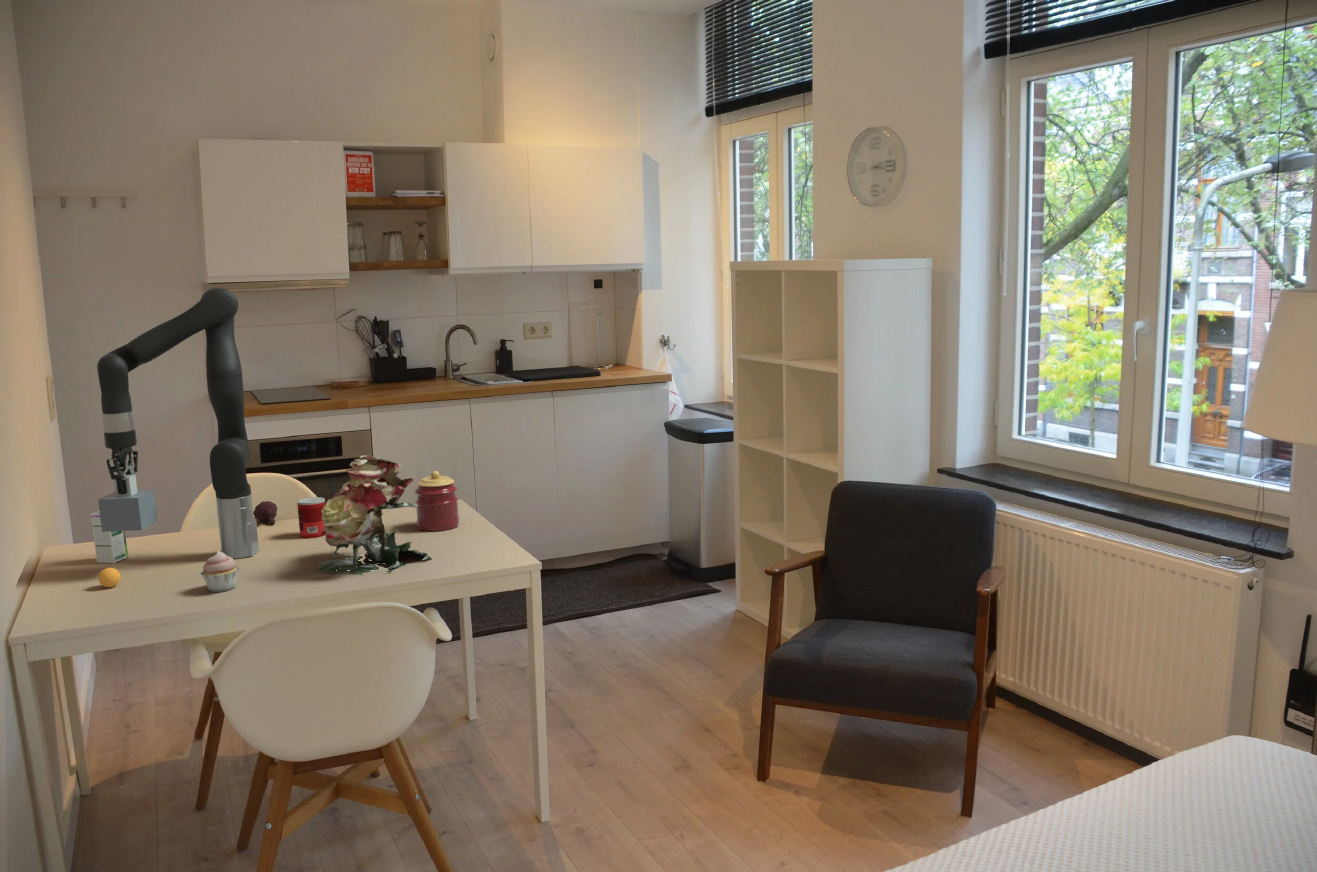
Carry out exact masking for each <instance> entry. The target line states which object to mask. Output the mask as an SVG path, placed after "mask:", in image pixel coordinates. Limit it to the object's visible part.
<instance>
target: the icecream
mask: <svg viewBox="0 0 1317 872" xmlns="http://www.w3.org/2000/svg"><path fill="white" fill-rule="evenodd" d="M277 512H278V507H277V504H276V503H274V502H272V501H269V500H267V501H261V502H260V503H258V504H257V505H256V506H255V508H254V510H253V517H254V519H256V520H258V521H259V522H262V523H269V524H270V525H271V526H274V525H275V524H276V520H275V518H276V517H277Z"/></svg>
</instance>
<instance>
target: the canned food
mask: <svg viewBox="0 0 1317 872" xmlns="http://www.w3.org/2000/svg"><path fill="white" fill-rule="evenodd" d="M296 502H297V503H296V504H297V513H298V524H299V525H298V527H299V534H300V537H301V538H303V539H317V538H321V537H324V536H326V534H323V535H322V531H323V528H324V525H323V524H324V522H323V520H322V514H323V513H322V512H321V510H322V509H323V507H324V506H325V505H326V500H325V498H324V497H319V496H317V497H313V496H312V497H305V498H302V499H299V500H297V501H296Z"/></svg>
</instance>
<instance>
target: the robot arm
mask: <svg viewBox="0 0 1317 872" xmlns="http://www.w3.org/2000/svg"><path fill="white" fill-rule="evenodd" d="M238 310H239V301H238V298H237V296H236V295H235V294H234V293H233V292H231V290H228V289H225V288H224V287H223V288H222V287H212V288H210V289H209V288H208V289H207V291H205V292H204V293H203V294H202V296H201V297H200V300H199V301H197V302H196V303H195V304H194V305H193V306H191V307H190V308H189V309H187V310H186V311H184V312H183V313H181V314H178V315H177V316H175V317H173V318H172V319H169V320H167V321H164V322H162V323H160V324H158V325H157V326H154V327H153V328H151V329H149V330H147V331H145V332H143V333H141V334H140V335H138V336H137V337H135V338H133V339H132V340H130V341H129V342H127V343H125V344H124V345H122V346H119V347H118V348H115V349H114V350H112V351H110V352H108V353H106V354H103V356H101V357H100V358H99V359H98V361H97V364H96V369H97V376H98V382H99V387H100V393H101V394H100V403H101V410H102V411H101V412H102V430H103V438H104V447H105V448H106V449H110V450H111V458H108V459H107V458H106V462H105V463H106V465H107V469H108V473H109V477H110V479H111V481H112V480H113V481H114V480H115V481H116V482H117V491H118V494H126V493H127V485H126V475H136V473H138V465H139V464H138V463H139V451H138V450H133V448H132V447H136V446H137V444H138V441H137V433H136V423H135V416H134V413H133V406H132V405H133V404H132V399H131V398H132V397H131V393H130V390H129V389H130V388H129V387H130V386H129V384H130V383H129V373H130V372H132V371H133V370H135V369H137V368H139V366H141V365H144V364H147V363H149V362H152V361H153V360H155V359H157V358H159V357H160V356H161V355H164V354H165V353H167V352H169V351H170V350H172V349H173V348H175V347H176V346H178V345H179V344H180V343H182V342H184V341H186V340H187V339H189V338H190V337H192V336H194V335H196V334H197V333H200V332H202V331H205V332H204V333H205V340H206V345H205V347H206V349H205V367H206V368H205V369H206V373H205V374H206V386H207V394H208V398H209V401H210V403H211V407H212V410H213V412H214V415H215V417H216V418H215V419H216V422H217V444H215V445H214V446H213V447H212V448H211V450H210V452H209V453H210V454H209V467H210V468H209V469H210V475H211V482H212V489H213V490H214V492H215V502H216V511H217V521H218V522H217V523H218V531H219V540H220V552H222V553H224V554H225V555H226V556H229V557H231V558H233V559H234V560H235V559H242V558H243V559H244V558H247V557H248V558H249V557H254V555H256V554H257V553H258V552H260V547H259V536H258V525H257V518H254V514H253V512H254V510H253V500H252V499H253V498H252V488H251V484H250V483H249V482H248V479H247V471H246V465H247V464H248V462H249V461H250V456H251V449H250V448H251V447H250V445H249V444H250V443H249V439H248V435H247V428H246V423H245V399H244V398H245V397H244V380H243V379H244V378H243V377H244V376H243V371H242V364H241V359H240V355H239V351H238V349H237V348H238V347H237V344H236V339H235V316H236V315H237V313H238Z"/></svg>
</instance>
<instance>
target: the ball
mask: <svg viewBox="0 0 1317 872" xmlns="http://www.w3.org/2000/svg"><path fill="white" fill-rule="evenodd" d="M98 581H99V584H100V585H101V586H103V587H105V588H113V587H115V586H116V585H118V584H119V583H120V581H121V573H120V572H119V570H118V569H117V568H114V567H107V568H104V569H103V570H101V571H100V572H99V575H98Z"/></svg>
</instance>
